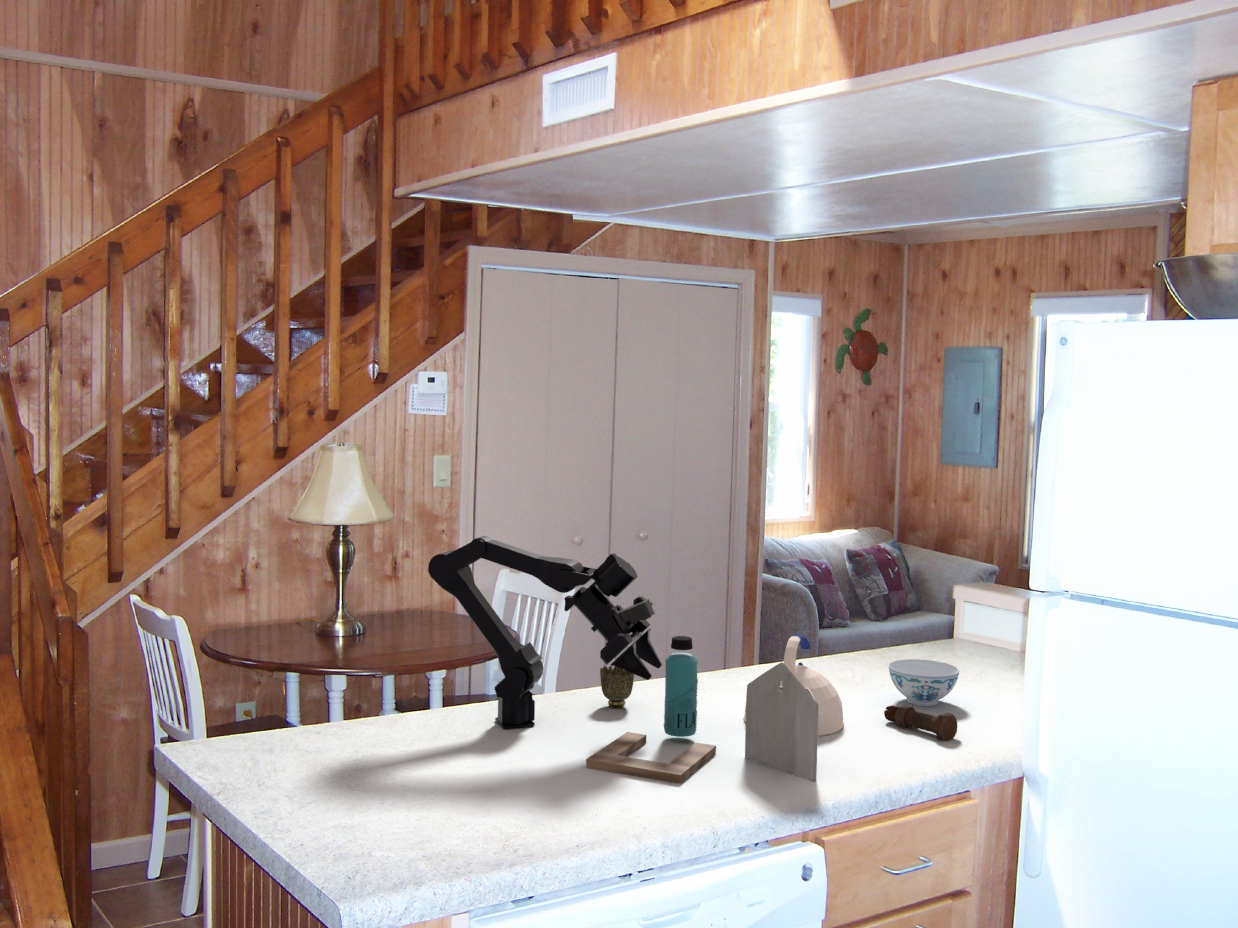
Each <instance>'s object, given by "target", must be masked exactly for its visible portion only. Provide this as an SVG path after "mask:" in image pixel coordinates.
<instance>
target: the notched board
mask: <svg viewBox="0 0 1238 928" xmlns="http://www.w3.org/2000/svg"><path fill="white" fill-rule="evenodd" d="M645 744H647V734H642V733H637V732H630V731H627V732H625V733H623V734H622V735H620V736H619V737H617V738H616V739H615V740H613V741H611V742H609V744H607V745H606V746H604V747H602V748H600V750H598V751H596V752H595V753H593V754H592V755H590V756H588V757H587V758H586V759H585V760H586V761H585V764H586V765H585V768H587V769H593V770H599V771H605V772H610V773H616V774H617V773H618V774H623V775H629V776H635V777H640V778H647V779H653V780H658V781H665V782H670V783H675V784H680V785H681V784H683V782H684V781H685V780H687V778H689V777H691V775H693V774H694V772H696V771H698V769H699V768H701V767H702V766H704V764H705V763H706V762H709V760H710V759H711V758H713V757H714V756H715V755H716V754H717V745H714V744H707V743H700V742H694V743H693V744H692V745H690V747H688V748H687V749H685V750H684V751H683V752H682V753H681V754H678V756H677V757H676V758H674V759H673V760H672V761H670V762H669V763H667V762H661V761H655V760H650V759H649V760H648V759H642V758H637V757H631V756H630V755H631V754H633V753H634V752H635V751H637V750H638V749H639V748H641V747H643V746H644V745H645Z"/></svg>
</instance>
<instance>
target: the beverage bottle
mask: <svg viewBox="0 0 1238 928" xmlns="http://www.w3.org/2000/svg"><path fill="white" fill-rule="evenodd" d="M693 646H694V645H693V638H692V637H691V636H686V635H677V636H676V635H675V636H673V637H672V638H671V644H670V649H672V650H676V651H679V652H673V653H671V654H669V655H668V656H667V657H666V659H665V662H664V663H665V676H664V677H665V680H664V681H665V686H664V688H665V689H664V691H665V692H664V694H665V696H664V706H663V707H664V714H663V718H664V721H663V729H664V734H666V735H668V736H672V737H679V738H687V737H691V736H694V735H695V734H696V731H697V728H698V725H697V724H698V722H697V720H698V708H697V707H698V694H699V693H698V691H699V690H698V688H699V687H698V683H699V680H698V679H699V678H698V663H699V662H698V658H696V657H695V655H693V654H691V653H690V652H680V651H689V650H692V649H693Z"/></svg>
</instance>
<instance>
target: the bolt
mask: <svg viewBox="0 0 1238 928" xmlns="http://www.w3.org/2000/svg"><path fill="white" fill-rule="evenodd" d="M883 715H884V718H885V719H886V720H887V721H888V722H889V721H890V722H892V723H895V724H896V725H897V726H898V728H901V729H905V730H906V729H910V728H915V729H919V730H923V731H925V732H930V733H933V734H934V735H936V738H937V740H938V741H941V742H948V741H951V740H953V739H954V738H955V737H956V735H957V732H958V720H957V718H956V716H955V715H954V713H951V712H944V713H941V714H938V715H937V716H936V715H933V714H930V713H925V712H920V711H916V709H915V707H913V705H912V704H904V705H901V706H896V705H887V706H886V707H885V710H884V712H883Z"/></svg>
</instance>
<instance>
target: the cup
mask: <svg viewBox="0 0 1238 928" xmlns="http://www.w3.org/2000/svg"><path fill="white" fill-rule="evenodd" d="M599 670H600V671H599V674H600V675H599V676H600V677H599V678H600V685H601V691H602V694H603V696H604V697H605V698H606V699H608V701H607V705H608V706H609V707H611V708H615V709H620V708H621V709H622V708H623V707H624V706H626V700H627V699H629V697H630V696H631V695H632V691H633V687H634V681H635V674H633V673H630V672H628V671H626V670H623V669H621V668H618V667H616V666H611V665H609V667H607V666H605V665H604V666H603V667H600V669H599Z"/></svg>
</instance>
